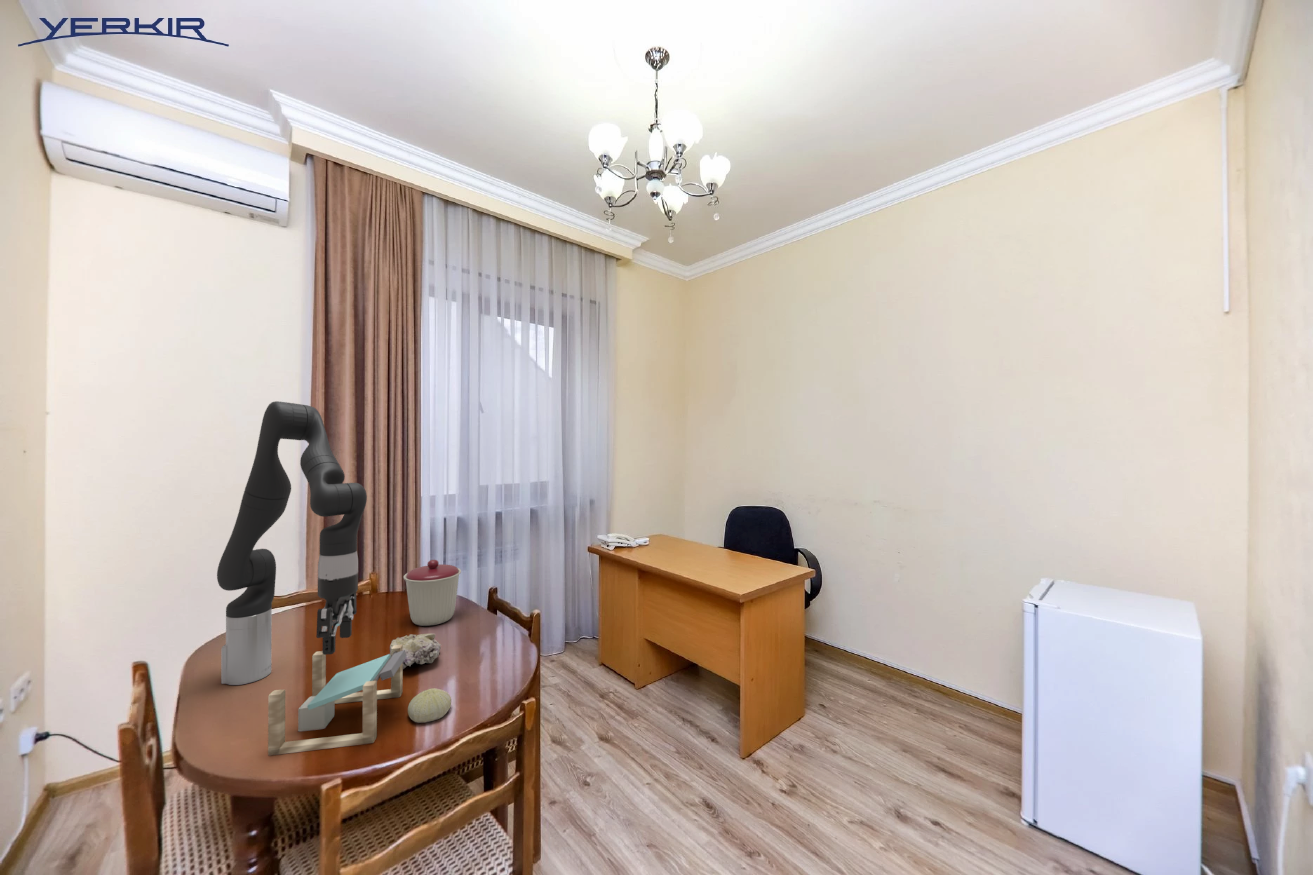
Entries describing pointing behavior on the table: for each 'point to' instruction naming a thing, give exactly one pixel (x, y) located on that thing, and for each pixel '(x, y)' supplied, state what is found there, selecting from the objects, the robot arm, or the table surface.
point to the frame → (318, 683)
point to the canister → (432, 593)
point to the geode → (418, 648)
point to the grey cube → (315, 715)
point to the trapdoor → (357, 678)
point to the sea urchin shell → (429, 705)
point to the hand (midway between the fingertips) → (337, 645)
